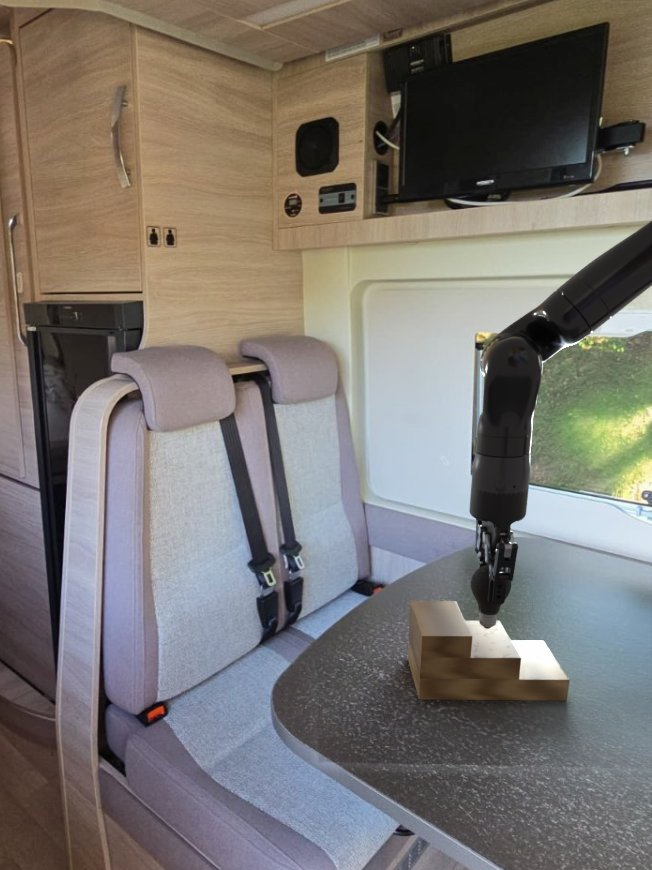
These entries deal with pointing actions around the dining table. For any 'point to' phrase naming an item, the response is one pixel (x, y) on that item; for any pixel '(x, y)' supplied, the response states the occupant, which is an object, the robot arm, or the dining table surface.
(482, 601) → the light bulb
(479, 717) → the dining table surface
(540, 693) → the step shelf
